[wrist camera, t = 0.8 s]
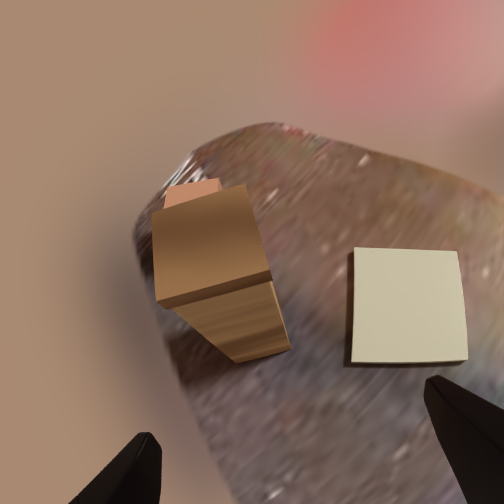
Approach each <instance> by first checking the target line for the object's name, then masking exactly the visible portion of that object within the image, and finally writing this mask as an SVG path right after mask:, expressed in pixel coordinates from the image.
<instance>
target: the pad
mask: <svg viewBox="0 0 504 504" xmlns="http://www.w3.org/2000/svg"><path fill="white" fill-rule="evenodd" d="M466 360H468V347H467V330H466V317H465V307H464V298H463V290H462V282H461V275H460V269H459V263H458V257H457V251H436V250H410V249H384V248H356V247H354V302H353V332H352V352H351V363H371V364H408V363H441V362H460V361H466Z"/></svg>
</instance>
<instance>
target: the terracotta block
mask: <svg viewBox="0 0 504 504" xmlns="http://www.w3.org/2000/svg"><path fill="white" fill-rule="evenodd" d="M221 190H223V188H222V186H221V183H220V181H219V178H215V179H209V180H203V181H198V182H192V183H187V184H182V185H176V186H171V187H168V188H167V194H166V199H165V205H164V209H165V208H168V207H171V206H174V205H177V204H180V203H183V202H186V201H189V200H192V199H195V198H198V197H202V196H205V195H208V194H211V193H214V192H218V191H221Z"/></svg>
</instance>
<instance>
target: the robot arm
mask: <svg viewBox="0 0 504 504" xmlns="http://www.w3.org/2000/svg"><path fill="white" fill-rule="evenodd" d="M424 402H425V404H426V407H427V410H428V413H429V415H430V418H431V421H432V424H433V427H434V430H435V432H436V435H437V438H438V440H439V442H440V444H441V446H442V449H443V451H444V453H445V455H446V457H447V459H448V461H449V463H450V465H451V467H452V470H453V472H454V474H455V476H456V478H457V481H458V483H459V485H460V487H461V489H462V492H463V494H464V496H465V499H466V501H467V503H468V504H504V410H503V409H502V408H500V407H498V406H496V405H494V404H492V403H490V402H488V401H487V400H485V399H483V398H481V397H479V396H477V395H475V394H474V393H472V392H470V391H468V390H466V389H464V388H463V387H461V386H459V385H457V384H455V383H453V382H452V381H450V380H448V379H446V378H444V377H442V376H441V375H438V374H437V375H434V376H431V377H428V378H427V379H426V382H425V389H424ZM161 470H162V449H161V446H160V445H159V443H158V442H157V440H156V439H155V438H154V436H153V435H152V434H151V433H150V432H141V433H138V434H137V435H136V436H135V437H134V438H133V439H132V440H131V441H130V442H129V443H128V444H127V445H126V446H125V447H124V448H123V449H122V450H121V451H120V452H119V454H118V455H117V456H116V457H115V458H114V459H113V460H112V461H111V462H110V463H109V464H108V465H107V466H106V467H105V468H104V469H103V470H102V471H101V472H100V473H99V474H98V475H97V476H96V477H95V478H94V479H93V480H92V481H91V482H90V483H89V484H88V485H87V486H86V487H85V488H84V489H83V490H82V491H81V492H80V493H79V494H78V496H76V497H75V498H74V499H73V500H72V501H71V502H69V503H68V504H159V501H160V493H161Z"/></svg>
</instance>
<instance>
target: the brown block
mask: <svg viewBox="0 0 504 504" xmlns="http://www.w3.org/2000/svg"><path fill="white" fill-rule="evenodd" d="M152 243H153V263H154V279H155V293H156V301H157V302H158V303H159V304H160V305H161V306H162V307H163V308H165V309H166V310H167V309H171V308H172V309H173V310H174V311H175V312H176V313H177V314H178V315H180V316H181V317H182V318H183V319H184V320H185V321H186V322H187V323H189V324H190V325H191V326H192V327H193V328H194V329H196V330H197V331H198V332H199V333H200V334H201V335H203V336H204V337H205V338H206V339H207V340H208V341H210V342H211V343H212V344H213V345H214V346H216V347H217V348H218V349H219V350H220V351H222V352H223V353H224V354H225V355H227V356H228V357H229V358H230V359H231V360H233V361H234V362H235V363H236V364H237V363H241V362H245V361H249V360H253V359H257V358H261V357H265V356H268V355H272V354H276V353H280V352H283V351H287V350H290V349H291V347H290V343H289V339H288V336H287V332H286V329H285V325H284V321H283V318H282V314H281V311H280V307H279V303H278V300H277V297H276V293H275V290H274V287H273V283H272V281H273V279H272V276H271V272H270V269H269V265H268V261H267V258H266V254H265V251H264V247H263V244H262V240H261V237H260V234H259V230H258V227H257V223H256V220H255V216H254V213H253V209H252V206H251V202H250V199H249V196H248V192H247V189H246V186H245V183H244V184H241V185H237V186H234V187H231V188H227V189H224V190H221V191H218V192H214V193H211V194H208V195H205V196H202V197H198V198H195V199H192V200H189V201H186V202H183V203H180V204H177V205H174V206H171V207H168V208H165V209H162V210H159V211H156V212H153V213H152Z"/></svg>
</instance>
